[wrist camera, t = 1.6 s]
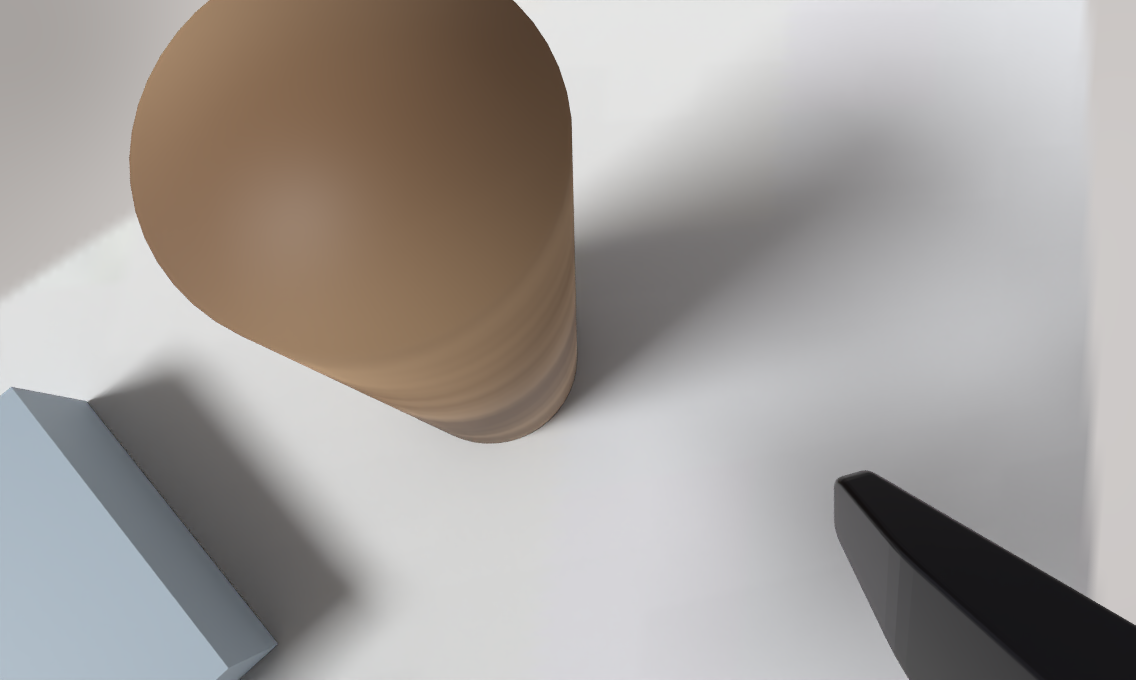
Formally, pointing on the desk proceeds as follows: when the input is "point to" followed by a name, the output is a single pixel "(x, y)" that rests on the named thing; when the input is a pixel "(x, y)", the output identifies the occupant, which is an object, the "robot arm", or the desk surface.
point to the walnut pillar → (373, 198)
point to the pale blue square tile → (103, 562)
